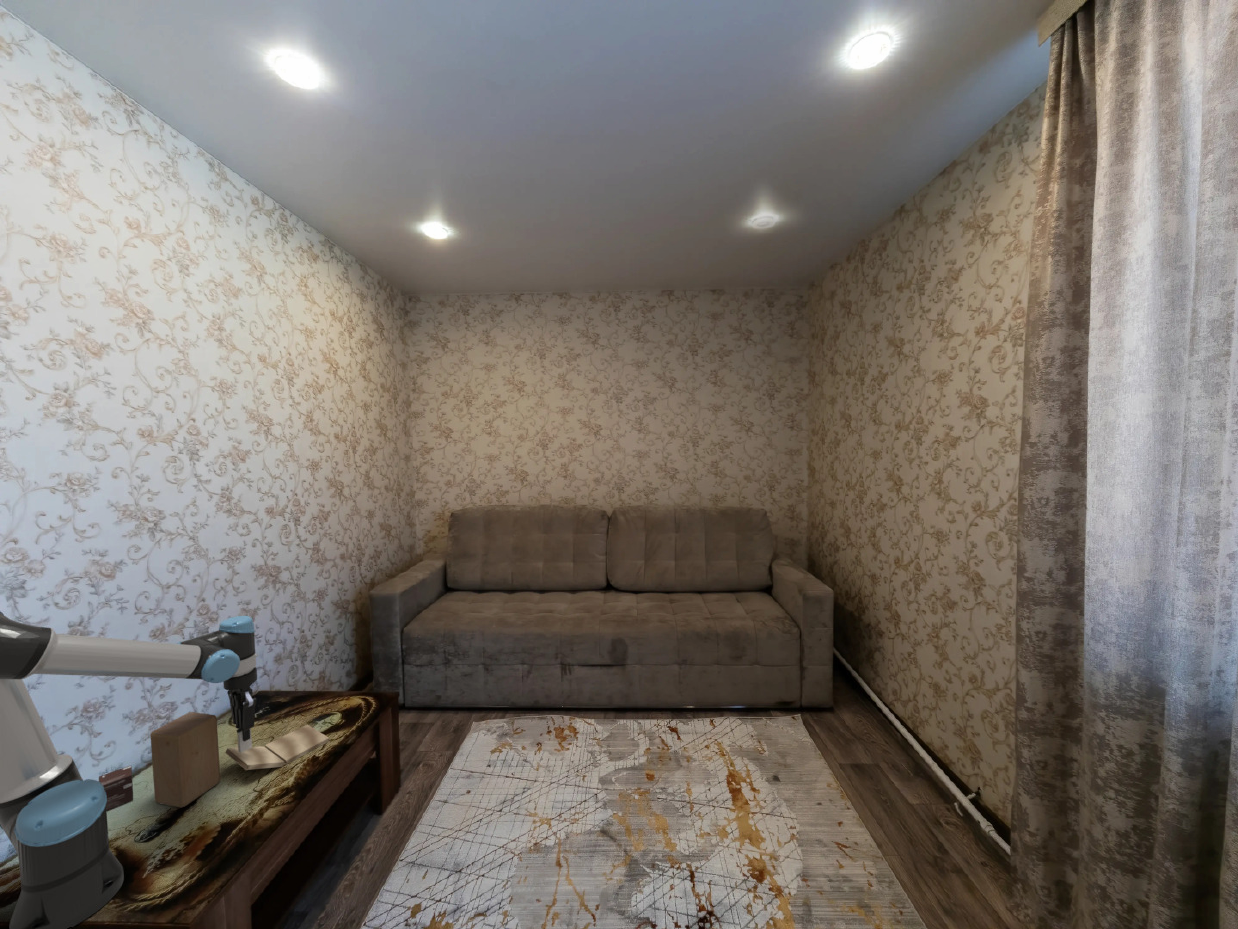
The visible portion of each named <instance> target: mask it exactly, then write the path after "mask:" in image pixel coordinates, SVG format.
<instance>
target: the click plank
mask: <svg viewBox="0 0 1238 929" xmlns="http://www.w3.org/2000/svg"><path fill="white" fill-rule="evenodd" d="M224 753H225V754H226V755H227V756H228V757H229V758H231V759H232V760H233V761H234V762H236V764H238V765H240V767H241V768H243V769H244V770H245V771H248V770H250V771H251V770H259V769H271V768H283V767H284V765H285V762H284V761H283V760H281V759H280V758H279V757H277V756H276V755H275V754H273V753H272V752H271V751H269V750H268V749H266V748H265V745H263V746H252V748H250V749H248V750H246V751H244V752H242V753H240V752H239V750H238V747H230V748H229V747H228V748H226V750H225V752H224Z"/></svg>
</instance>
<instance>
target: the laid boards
mask: <svg viewBox="0 0 1238 929" xmlns="http://www.w3.org/2000/svg"><path fill="white" fill-rule="evenodd" d="M329 742H330V738H329V737H328V736H327V735H325V734H324V733H322V732H321V731H318V730H317V729H315V728H314V727H313V726H311V725H309V724H305V725H303V726H301V727H298V728H296V729H295V730H292V731H291V732H288V733H287V734H284V735H283V736H281V737H279V738H276V739H274V740H273V741H270V742H268V743H267V744H265V745H264V747H265V748H266V749H268V750H269V751H271V752H272V753H273V754H275V755H276V756H277V757H279V758H280V759H281V760H283V761H284V762H285V763H284V765H289V764H290V763H292V762H294V761H296V760H298V759H300V758H301V757H303V756H305V755H307V754H309V753H311V752H312V751H315V750H316V749H318V748H320V747H321V746H324V745H325V744H327V743H329Z"/></svg>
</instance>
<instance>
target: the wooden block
mask: <svg viewBox="0 0 1238 929" xmlns="http://www.w3.org/2000/svg"><path fill="white" fill-rule="evenodd" d="M218 732H219V731H218V718H217V716H216V715H215V714H212V713H211V714H208V713H202V712H201V713H200V712H194V711H190V712H187V713H185V714H183V715H181V716H179V717H177V718H175V719H174V720H171V721H170V722H168V723H165V724H163V725H162V726H160V727H158V728H156V729H154V730H153V731H151V732H150V736H149V737H150V748H151V763H152V776H153V791H154V792H153V794H154V801H155V802H156V804H160V805H165V806H170V807H177V808H184V807H186V806H188V805H189V804H191V803H192V802H194V801H195V800H196V799H198V798H199V797H201V796H203V795H204V794H205V793H206V792H208V791H209V790H212V788H214V787H215V786H216V785H218V784H219V783H220V782H221V772H220V771H221V769H220V768H221V766H220V764H221V763H220V752H219V751H220V749H219V736H218Z"/></svg>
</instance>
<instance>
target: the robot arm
mask: <svg viewBox="0 0 1238 929" xmlns="http://www.w3.org/2000/svg"><path fill="white" fill-rule="evenodd" d="M255 632H256V630H255V623H254V620H253V618H252V616H249V615H236V616H234V617H229V618H226V619H224V620H223V621H220V623H219V626H218V630H216V631H213V632H210V633H207V634H203V635H199V636H197V637H193V638H190V639H186V640H183V641H179V642H177V643H176V642H175V643H171V642H170V643H169V642H158V641H145V640H135V639H133V640H132V639H123V638H111V637H110V638H109V637H98V636H87V635H74V634H72V635H71V634H64V633H63V634H61V633H57V632H56V631H55V630H54V628H52V627H44V626H35V625H30V624H26V623H22V622H18V621H16V620H13V619H10V618H9V617H7V616H6V615H5V614H4V613H3V612H1V610H0V829H1V830H2V831H3V832H4V833H5V835H6V836H7V838H8V839H9V841H10V843H11V845H12V846H13V848H14V850H15V852H16V854H17V857H18V866H19V867H18V868H19V876H20V877H19V879H20V886H21V888H20V889H21V891H20V894H19V897H18V899H17V902H16V905H15V907H14V910H13V913H12V916H11V918H10V921H9V929H67V928H69V927H72V928H74V927H76V926H77V925H79V924H80V923H82V922H84V921H85V920H87V919H88V918H90V917H92V915H95V913H97V912H98V911H99V910H101V909H102V908H103V907H104V906H106V905H107V904H108V903H109V902H110V901H111V900H112V899H113V897H115V896H116V895H117V893H118V892H119V891H120V889H121V888H122V885H123V883H124V880H125V878H124V877H125V876H124V867H123V865H122V863H120V861H119V860H118V858H117V857H116V855H115V854H114V853H113V851H112V850H111V849H110V843H109V828H108V826H109V825H108V815H107V813H108V811H106V803H107V796H106V792H105V790H104V787H103V785H102V784H101V783H100V782H99V780H96V779H93V778H92V779H89V778H87V779H85V780H84V779H83V777H82V775H81V773H80V770H78V767H77V765H76V763H75V760H74V759H73V756H72V755H70V754H59V753H58V751H57V750H56V748H55V745H54V743H53V741H52V739H51V737H50V734H49V733H48V731H47V728H46V726H45V724H44V722H43V720H42V719H41V716H40V713H39V712H38V710H37V708H36V705H35V703H34V702H33V699H32V697H31V695H30V692H29V691H28V689H27V687H26V686H27V685H25V683H24V679H26V678H28V677H31V676H33V675H54V676H55V675H56V676H57V675H60V676H84V677H85V676H87V677H88V676H91V677H94V676H95V677H119V678H121V677H123V678H126V677H127V678H128V677H129V678H152V679H153V678H157V679H158V678H159V679H161V678H162V679H182V680H183V679H184V680H185V679H187V680H202V681H204V682H206V683H211V684H220V683H223V689H224V690H226V691H227V695H228V700H229V705H230V706H229V707H230V711H231V717H232V724H233V725H235V728H236V733H237V734H236V735H237V748H238V750H239V752H240V753H242V752H244V751H246V750H248V749H250V748H252V747H253V744H252V743H253V741H252V729H253V728H254V727H255V718H256V704H257V701H258V700H257V698H256V697H252V696H253V689H252V688H251V687H252V685H253V684H254V683H256V682H257V680H258V669H257V659H256V658H258V654H257V653H256V638H255V634H256V633H255Z"/></svg>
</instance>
